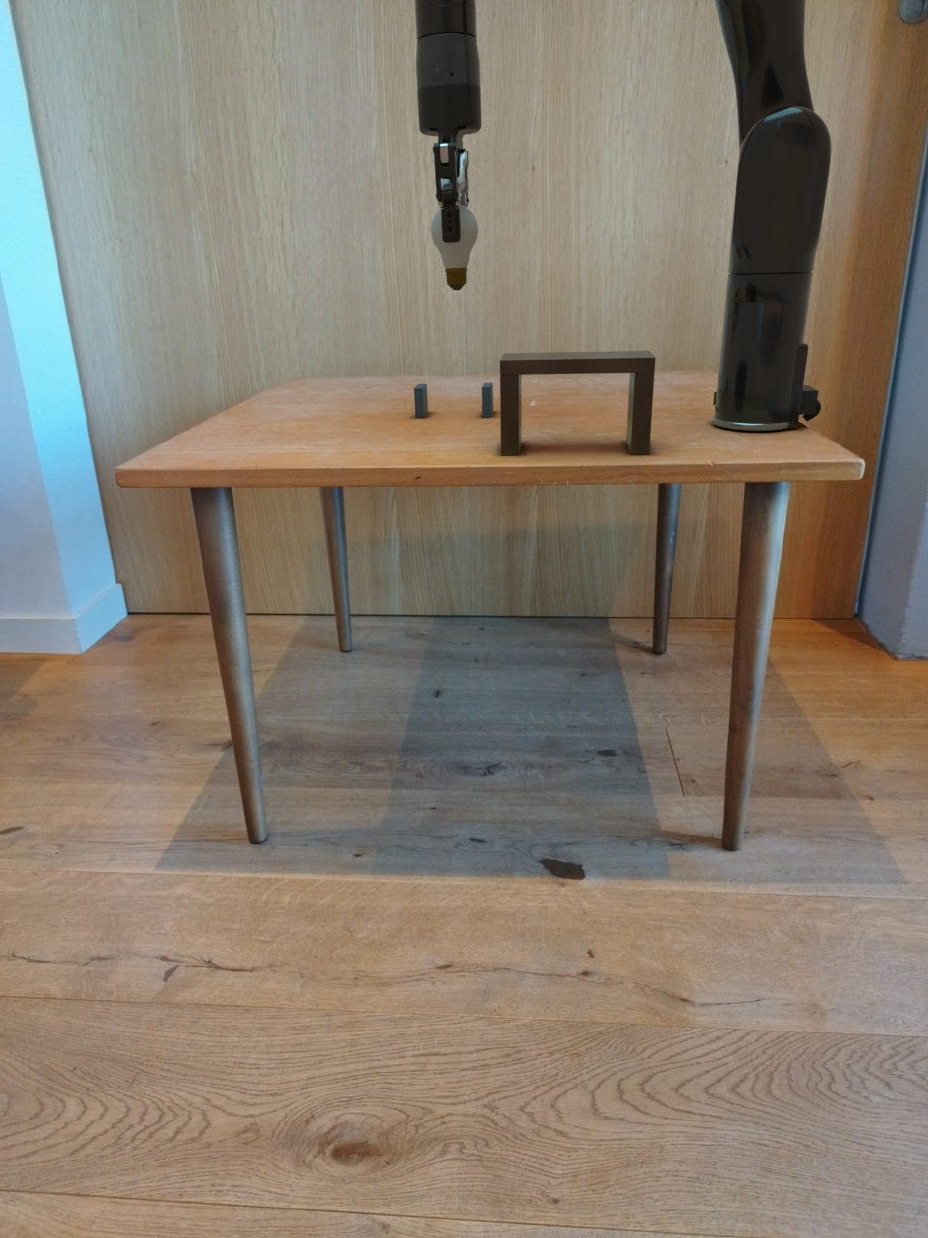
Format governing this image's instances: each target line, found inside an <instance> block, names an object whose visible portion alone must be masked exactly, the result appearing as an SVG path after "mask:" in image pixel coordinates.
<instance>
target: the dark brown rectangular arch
mask: <svg viewBox="0 0 928 1238" xmlns="http://www.w3.org/2000/svg"><path fill="white" fill-rule="evenodd" d="M655 370H656V357H655V355H653V353H652V352H651V351H650V350H621V351H618V350H617V351H616V350H615V351H614V350H613V351H612V350H611V351H563V352H562V351H561V352H555V351H554V352H511V353H508V352H507V353H505V352H504V353H503V354H502V355H501V358H500V359H499V405H500V408H499V409H500V412H499V413H500V415H499V416H500V418H499V419H500V455H501V456H519V455H520V453H521V452H520V451H521V447H522V440H523V439H522V429H523V428H522V415H523V413H522V405H523V403H522V394H523V393H522V391H523V390H522V387H523V385H522V379H523V378H522V375H523V376H524V375H525V376H526V375H533V376H534V375H586V374H587V375H589V374H590V375H592V374H595V375H596V374H597V375H599V374H629V380H628V399H627V400H628V401H627V420H626V437H625V439H626V440H625V441H626V445H627V448H628V451H629V454H630V455H650V449H651V433H652V416H653V404H654V403H653V402H654V388H655V387H654V386H655V372H656V371H655Z"/></svg>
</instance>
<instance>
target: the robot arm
mask: <svg viewBox="0 0 928 1238" xmlns="http://www.w3.org/2000/svg"><path fill="white" fill-rule="evenodd" d="M806 2H807V1H806V0H714V4H715V8H716V13H717V18H718V23H719V26H720V30H721V35H722V38H723V41H724V42H723V43H724V45H725V50H726V53H727V57H728V60H729V64H730V68H731V73H732V78H733V82H734V83H733V85H734V89H735V90H734V91H735V99H736V100H735V101H736V115H737V129H738V131H737V133H738V161H737V170H736V172H737V173H736V181H735V193H734V204H733V213H732V214H733V215H732V226H731V234H730V244H729V255H728V268H727V273H728V274H727V279H726V280H727V281H726V290H725V302H724V312H723V322H722V332H721V333H722V335H721V342H720V351H719V352H720V354H719V363H718V374H717V384H716V391H714V393H713V401H712V403H713V404H712V406H714V415H713V417H712V424H713V425H715V426H717V427H720V428H723V429H728V430H735V431H745V432H770V431H774V432H775V431H782V430H787V429H799V428H798V427H799V421H800V416H802V418H803V419H804V421H805V422H807V423H808V422H809V421H811V420H813V419H814V418H816V417H817V416H818V415H819V414H820V412H821V410H822V403H821V402H820V401H819V400H818V396H819V390H818V389H817V388H814V387H813V386H810V385H809V384H805V375H806V371H807V370H806V369H807V363H808V362H807V361H808V354H809V345H808V344H807V343H805V335H806V328H807V322H808V321H807V320H808V314H809V305H810V298H811V291H812V282H813V275H814V270H815V261H816V256H817V252H818V251H817V250H818V248H819V242H820V238H821V232H822V227H823V226H822V225H823V219H824V218H823V217H824V212H825V205H826V198H827V197H826V196H827V193H828V192H827V190H828V184H829V179H830V178H829V177H830V171H831V162H832V147H833V146H832V145H833V144H832V137H831V134H830V133H831V132H830V131H829V128H828V126H827V124H826V122H825V121H824V120H823V118H822V117H821V116H820V115H819V114H818V113H816V112H815V108H814V104H813V99H812V94H811V88H810V83H809V77H808V71H807V65H806V64H807V63H806V53H805V26H806V25H805V23H806ZM414 17H415V18H414V19H415V20H414V22H415V38H416V39H415V40H416V52H415V77H416V78H415V79H416V93H417V94H416V96H417V97H416V98H417V116H418V129H419V132H420V133H421V134H422V135H424V136H428V137H437V142H434V143H433V146H432V153H433V155H432V157H433V158H432V159H433V160H432V161H433V164H434V175H435V176H434V184H435V192H436V193H435V199H436V201H437V204H438V207H439V209H441V208H443V209H441V219H442V239H443V241H444V242H445V243H456V242H459V241H460V240H461V227H460V209H459V208H458V207H460V205H463V206H465V207H466V208H469V203H470V198H469V188H470V180H469V179H470V177H469V165H470V152H469V151H468V150H467V148H464V141H463V138H464V136H465V135H473V134H476V133H479V132H480V131H481V129H482V95H481V63H480V53H479V47H478V38H477V37H478V36H477V35H478V33H477V32H478V31H477V1H476V0H414ZM456 208H457V209H456Z"/></svg>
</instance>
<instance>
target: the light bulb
mask: <svg viewBox="0 0 928 1238" xmlns="http://www.w3.org/2000/svg"><path fill="white" fill-rule="evenodd" d="M458 208H459V209H460V227H461V240H460V241H459V242H456V243H445V242H444V241H443V239H442V219H441V209H443V208H439V209H438V210H437V212H436V213H435V214H434V216H433V219H432V222H431V224H430V225H431V226H430V234H431V239H432V241H433V244H434V245H435V247H436V249H437V250H438V252H439V254H440V257H441V260H442V264H443V266H444V269H445V276H446V277H445V279H446V285H447V286H448V287H449V288H450V289H452V291H461V290H462V289H463V287H464V286H465V285H466V284H468V282H467V280H468V279H467V278H468V265H469V262H470V256H471V252H472V250H473V248H474V246H475V244H476V241H477V239H478V234H479V225H478V221H477V219H476V216H475V215H474V213H473V212H472V210H470V209H469V207H467V208H466V207H465V206H463V205H460V207H458ZM456 209H457V208H456Z"/></svg>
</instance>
